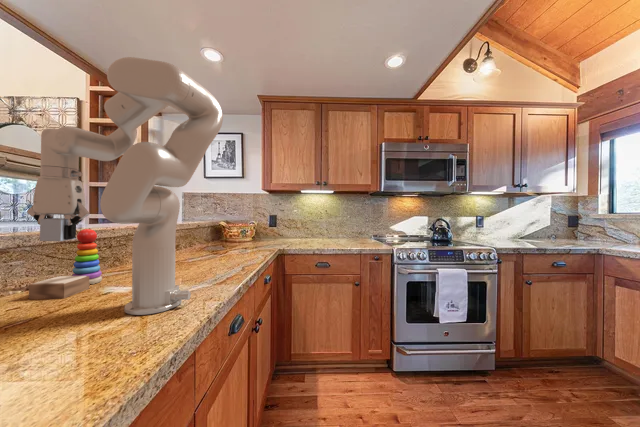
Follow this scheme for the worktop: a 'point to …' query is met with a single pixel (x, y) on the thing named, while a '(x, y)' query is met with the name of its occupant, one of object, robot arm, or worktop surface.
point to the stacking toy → (87, 257)
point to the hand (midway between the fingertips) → (58, 238)
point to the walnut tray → (58, 287)
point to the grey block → (52, 229)
